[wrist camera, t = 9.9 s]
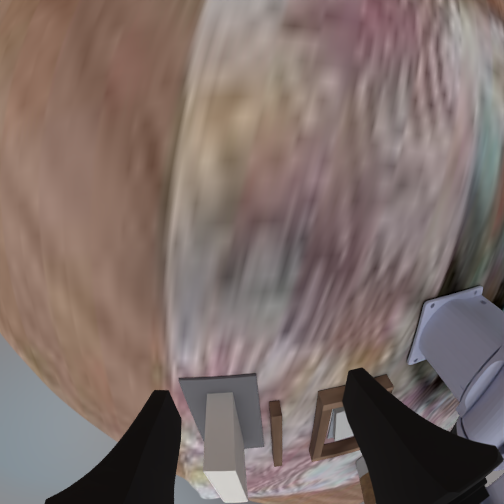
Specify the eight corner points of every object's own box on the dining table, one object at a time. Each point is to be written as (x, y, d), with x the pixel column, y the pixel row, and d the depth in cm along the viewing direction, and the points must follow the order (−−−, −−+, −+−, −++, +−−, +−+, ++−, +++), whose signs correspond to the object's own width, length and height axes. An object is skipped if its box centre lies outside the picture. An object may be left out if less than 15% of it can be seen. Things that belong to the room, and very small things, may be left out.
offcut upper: (360, 398, 25) (363, 404, 24) (356, 428, 28) (358, 433, 27) (334, 407, 25) (336, 413, 24) (332, 435, 28) (334, 441, 27)
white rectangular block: (232, 392, 23) (235, 470, 15) (243, 441, 26) (248, 501, 18) (207, 393, 23) (203, 471, 15) (223, 442, 26) (224, 502, 18)
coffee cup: (354, 453, 31) (379, 527, 17) (399, 438, 32) (430, 504, 18) (344, 472, 34) (364, 535, 20) (385, 458, 35) (409, 517, 21)
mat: (255, 373, 23) (256, 375, 22) (263, 444, 27) (264, 446, 27) (179, 378, 22) (178, 380, 22) (208, 448, 27) (207, 450, 27)
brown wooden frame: (386, 374, 24) (393, 386, 23) (361, 437, 29) (366, 447, 27) (269, 398, 24) (271, 414, 22) (272, 456, 29) (274, 467, 27)
